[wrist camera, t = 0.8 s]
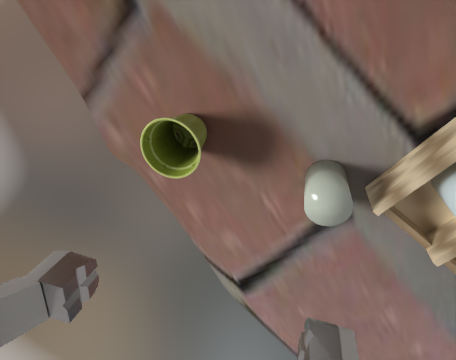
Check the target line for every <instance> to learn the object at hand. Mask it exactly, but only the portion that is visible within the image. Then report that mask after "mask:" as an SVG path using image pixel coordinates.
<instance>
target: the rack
mask: <svg viewBox="0 0 456 360" xmlns="http://www.w3.org/2000/svg"><path fill="white" fill-rule="evenodd" d="M455 162H456V117H455V118H454V119H453V120H451V121H450V122H449V123H447V124H446V125H445V126H444V127H442V128H441V129H440V130H438V131H437V132H436V133H435V134H433V135H432V136H431V137H429V138H428V139H427V140H425V141H424V142H423V143H422V144H420V145H419V146H418V147H416V148H415V149H414V150H413V151H411V152H410V153H409V154H407V155H406V156H405V157H403V158H402V159H401V160H400V161H398V162H397V163H396V164H394V165H393V166H392V167H390V168H389V169H388V170H387V171H385V172H384V173H383V174H381V175H380V176H379V177H378V178H376V179H375V180H374V181H372V182H371V183H370V184H368V185H367V186H366V187H365V189H366V193H367V196H368V199H369V202H370V205H371V208H372V211H373V212H374V213H375V214H376V215H377V216H379V215H380V214H382V213H384V214H385V215H387V216H388V217H389V218H390V219H391V220H392V221H394V222H395V223H396V224H397V225H398V226H400V227H401V228H402V229H403V230H404V231H405V232H407V233H408V234H409V235H410V236H411V237H412V238H414V239H415V240H416V241H417V242H418V243H419V244H421V245H422V246H423V247H424V248H425V249H426V250H427V252H428V254H429V256H430V258H431V260H432V262H433V263H434V264H435V265H436V266H440V265H442V264H444V265H445V266H447V267H448V268H449V269H450V270H451V271H452V272H454V273H455V274H456V217H455V216H454V214H453V213H452V212H451V210H450V209H449V208H448V206H447V205H446V204H445V202H444V201H443V200H442V198H441V197H440V196H439V194H438V193H437V192H436V190H435V189H434V188H433V186H432V184H431V181H430V180H431V179H432V178H433V177H435V176H436V175H438V174H439V173H441V172H442V171H443V170H445V169H446V168H448V167H449V166H451V165H452V164H454V163H455Z"/></svg>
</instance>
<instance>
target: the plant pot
mask: <svg viewBox="0 0 456 360" xmlns="http://www.w3.org/2000/svg"><path fill="white" fill-rule="evenodd" d="M188 131H189V132H190V133H188ZM177 132H178V134H179V136H180V138H181V139H179V137H178V136H177ZM206 137H207V129H206V126H205V124H204V123H203V121H202V120H201V119H200V118H199V117H196V116H194V115H192V114H182V115H180V116H177V117H174V118H159V119H156V120H153V121H152V122H150V123H149V124H148V125H147V126H146V127H145V128H144V130H143V132H142V135H141V140H140V144H141V151H142V154H143V156H144V158H145V160H146V162H147V163H148V164H149V165H150V167H151V168H152V169H153V170H155V171H156V172H158V173H159V174H161V175H163V176H165V177H169V178H183V177H186V176H188V175H190V174H191V173H193V172H194V171H195V169H196V168H197V167H198V165H199V163H200V160H201V149H202V147H203V144H204V142H205V140H206ZM193 143H197V145H192V144H193Z"/></svg>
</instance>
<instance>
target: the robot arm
mask: <svg viewBox="0 0 456 360" xmlns="http://www.w3.org/2000/svg"><path fill="white" fill-rule="evenodd" d="M96 267H97V262H96V260H95V259H93V258H89V257H86V256H82V255H79V254H76V253H73V252H70V251H66V250H63V249H58V250H55V251H54V252H53V253H52V254H51V255H49V256H48V257H47V258H46V259H45V260H44V261H43V262H41V263H40V264H39V265H38V266H37V267H36V268H34V269H33V270H32V271H31V272H30V273H29V274H28V275H26V276H25V277H18V278H15V279H13V280H10V281H7V282H5V283H2V284H0V347H2V346H3V345H5V344H7V343H8V342H10V341H12V340H14V339H15V338H17V337H19V336H20V335H22V334H24V333H26V332H27V331H29V330H31V329H32V328H34V327H36V326H37V325H39V324H41V323H42V322H44V321H46V320H48V319H49V317H50V318H53V319H57V320H61V321H64V322H67V323H70V322H71V321H72V320H73V319H74V318H75V316H76V315H77V314H78V313H79V311H80V310H81V309H82V302H84V301H86V300H88V299H90V298H91V296H92V295H93V294H94V293H95V290H96V288H97V286H98V282H99V276H98V274H97V272H96V271H95V270H94V269H95V268H96ZM297 360H359V357H358V351H357V345H356V339H355V333H354V331H353V330H352V329H348V328H344V327H341V326H337V325H334V324H331V323H327V322H323V321H319V320H315V319H312V318H307V319H306V322H305V331H304V332H302V333H301V336H300V339H299V344H298V352H297Z"/></svg>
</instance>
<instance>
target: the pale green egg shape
mask: <svg viewBox="0 0 456 360" xmlns="http://www.w3.org/2000/svg"><path fill="white" fill-rule="evenodd" d="M304 210H305V213H306V215H307V216H308V218H309V219H310V220H312V221H313V222H314V223H316V224H319V225H322V226H335V225H339V224H341V223H343V222H345V221H346V220H347V219H348V218H349V217H350V215H351V214H352V211H353V202H352V197H351V193H350V189H349V184H348V180H347V176H346V172H345V170H344V168H343V167H342V166H341V165H340V164H339V163H337V162H335V161H332V160H321V161H317V162H315V163H314V164H312V165H311V166H310V167H309V168H308V170H307V172H306V175H305V196H304Z"/></svg>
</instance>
